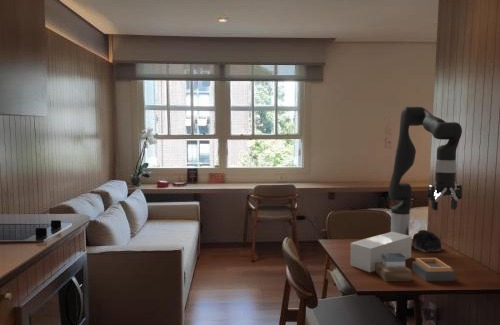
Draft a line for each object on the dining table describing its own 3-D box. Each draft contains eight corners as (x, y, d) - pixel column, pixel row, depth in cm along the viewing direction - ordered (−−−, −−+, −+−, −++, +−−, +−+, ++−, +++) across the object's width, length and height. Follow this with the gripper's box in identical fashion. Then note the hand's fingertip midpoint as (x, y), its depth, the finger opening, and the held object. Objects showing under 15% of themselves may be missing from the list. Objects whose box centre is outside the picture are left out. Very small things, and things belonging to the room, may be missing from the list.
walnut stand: (375, 271, 162) (375, 262, 162) (400, 270, 163) (400, 262, 162) (385, 281, 151) (385, 271, 151) (411, 280, 152) (412, 271, 151)
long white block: (370, 272, 161) (370, 248, 161) (350, 265, 170) (350, 242, 169) (410, 258, 180) (411, 236, 179) (391, 252, 189) (391, 231, 188)
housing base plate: (381, 264, 159) (381, 257, 159) (399, 264, 159) (400, 257, 159) (386, 269, 154) (386, 261, 154) (405, 268, 154) (405, 261, 154)
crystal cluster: (443, 255, 185) (446, 235, 185) (413, 250, 189) (416, 231, 189) (438, 249, 198) (440, 231, 198) (410, 245, 202) (413, 226, 202)
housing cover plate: (381, 257, 159) (381, 253, 159) (400, 257, 159) (400, 253, 159) (386, 261, 154) (386, 257, 154) (405, 261, 154) (405, 256, 154)
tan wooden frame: (412, 270, 163) (412, 258, 163) (438, 269, 164) (439, 257, 163) (425, 281, 151) (426, 268, 151) (454, 280, 152) (455, 267, 151)
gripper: (454, 169, 158) (452, 207, 159) (424, 170, 156) (423, 208, 157) (467, 171, 151) (466, 210, 152) (436, 172, 148) (434, 212, 150)
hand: (444, 209), depth 154 cm, fingers open, 8 cm apart
